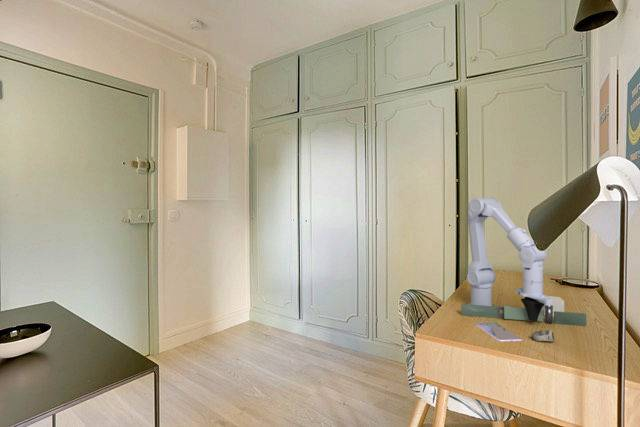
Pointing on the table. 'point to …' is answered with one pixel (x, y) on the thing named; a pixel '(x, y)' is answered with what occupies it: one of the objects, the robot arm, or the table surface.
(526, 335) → the table surface
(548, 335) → the wristwatch
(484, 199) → the robot arm
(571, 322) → the hinge post
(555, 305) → the off-white chamfered cube
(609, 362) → the table surface
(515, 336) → the mobile phone
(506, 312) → the sage green stepped bar
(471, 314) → the latch stile
